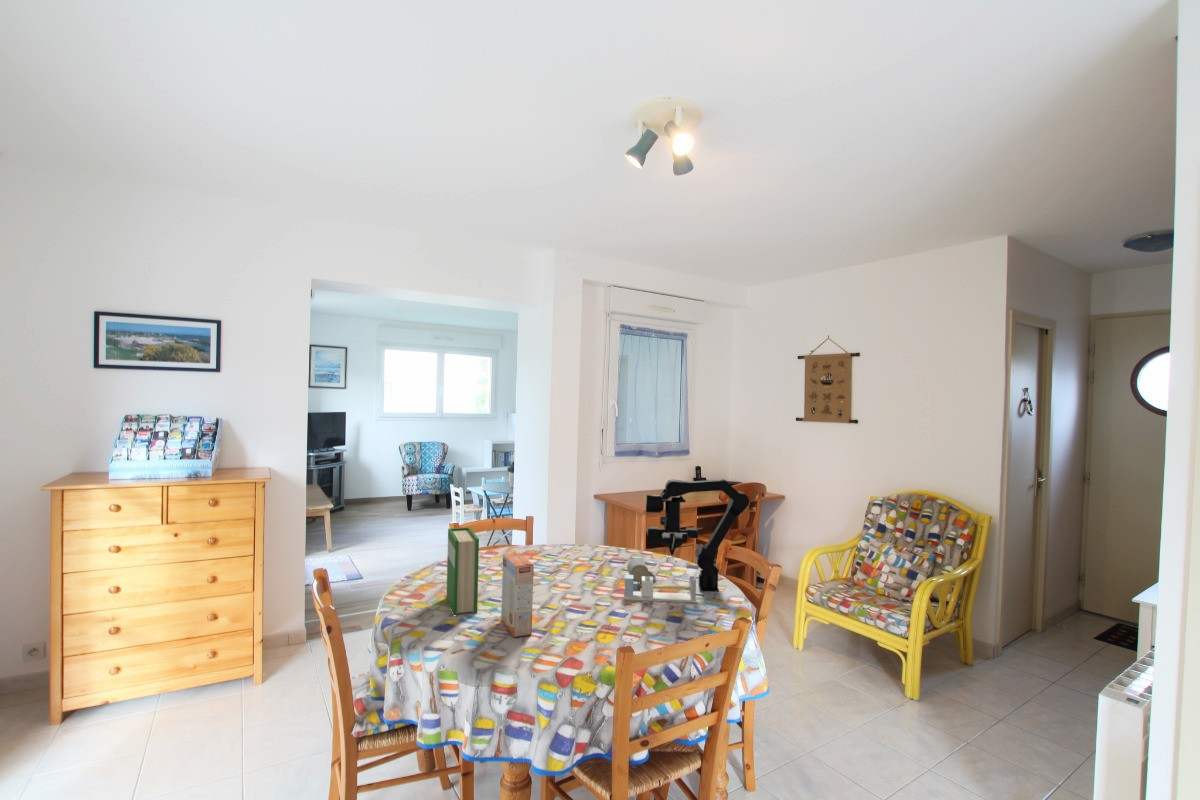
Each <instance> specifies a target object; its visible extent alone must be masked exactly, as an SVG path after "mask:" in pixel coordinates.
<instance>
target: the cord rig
mask: <svg viewBox="0 0 1200 800" xmlns="http://www.w3.org/2000/svg"><path fill="white" fill-rule="evenodd" d="M641 588H642V584H641V582H636V581H634V580H633V575H630V574H624V600H627V601H648V602H649V601H650V602H652V601H653V602H671V603H672V602H677V603H697V580H696V579H695V575H689V586H683V585H681V586H680V585H679V586H677V585H654V584H653V590H668V591H669V590H673V591H674V590H675V591H688V593H685V592H684V593H679V592H657V591H655V592H654V591H653V597H650V596H642V593H641Z"/></svg>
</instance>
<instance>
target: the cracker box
mask: <svg viewBox="0 0 1200 800" xmlns="http://www.w3.org/2000/svg"><path fill="white" fill-rule="evenodd" d="M534 567H535V566H534V563H533V562H532V561H530V560H529V559H527V558H526V557H525V556H524V555H523V554H522V553H520V552H515V553H513V552H512V553H506V554H502V583H501V584H502V585H501V586H502V587H501V614H500V615H501V618H500V620H501V622H502V624H503V625H504V626H505V628H506V629H507V631H508V632H509V633H510V635H511V636H512V637H513V638H518V637H525V636H532V634H533V633H532V631H533V604H534V603H533V601H534V599H533V598H534V597H533V596H534Z"/></svg>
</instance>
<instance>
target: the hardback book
mask: <svg viewBox="0 0 1200 800" xmlns="http://www.w3.org/2000/svg"><path fill="white" fill-rule="evenodd" d="M479 543H480V538H479V537H478V536H477V535H476V533H475V532H474V531H473V529H471V527H469V526H467V527H466V526H465V527H455V528H454V527H453V528H447V560H446V561H447V563H446V565H447V566H446V567H447V568H446V572H447V573H446V600H447V599H448V600H447V603H448V602H449V603H448V605H449V604H450V606H449V608H450V607H451V608H450V610H451V609H452V611H451V613H452V612H453V614H454V615H457V614H462V613H472V612H473V611H474V612H473V614H474V613H477V614H478V603H479V602H478V601H479V600H478V598H479V558H480V557H479V553H480V550H479V549H480V548H479V547H480V544H479ZM453 614H452V615H453ZM457 616H458V615H457Z"/></svg>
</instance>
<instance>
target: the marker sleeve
mask: <svg viewBox="0 0 1200 800" xmlns="http://www.w3.org/2000/svg"><path fill="white" fill-rule="evenodd" d="M641 585H642V588H640V592H641V593H642V596H650V597H653V592H654V589H653V585H654V581H653V577H649V576H642V582H641Z"/></svg>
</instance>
